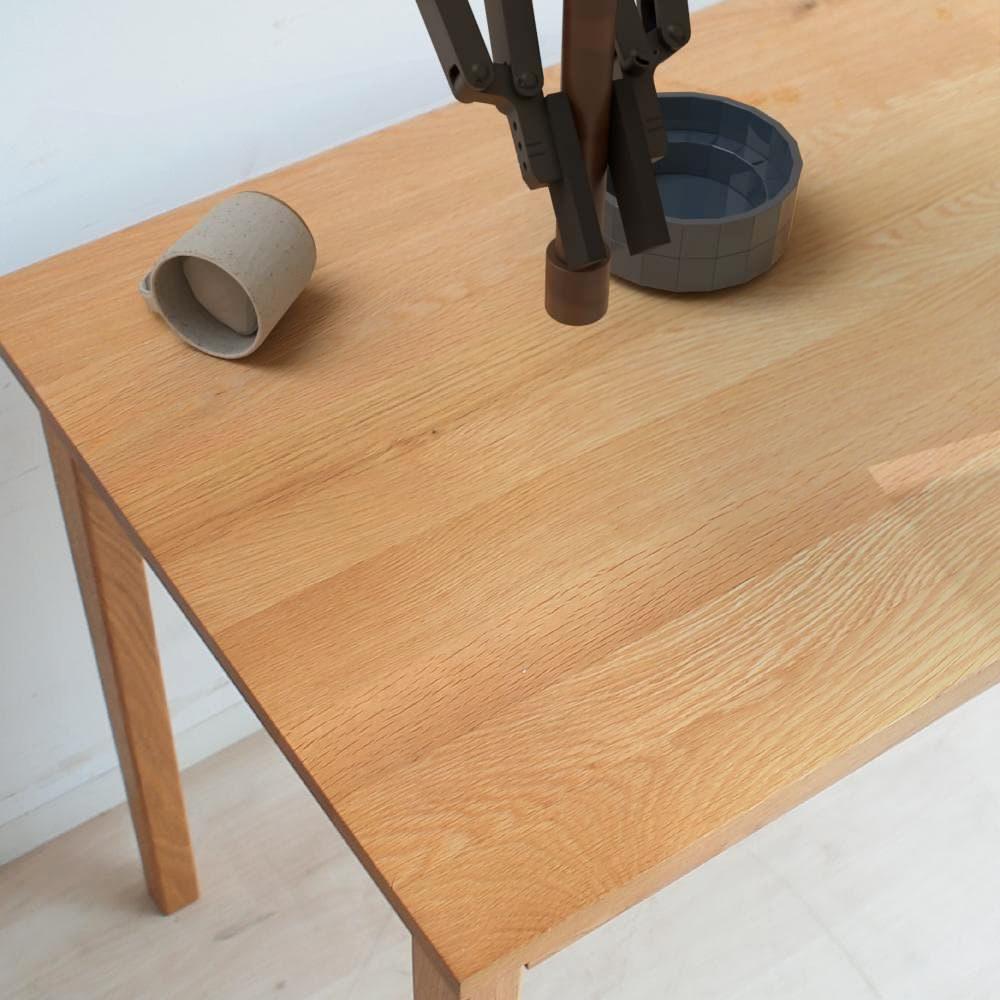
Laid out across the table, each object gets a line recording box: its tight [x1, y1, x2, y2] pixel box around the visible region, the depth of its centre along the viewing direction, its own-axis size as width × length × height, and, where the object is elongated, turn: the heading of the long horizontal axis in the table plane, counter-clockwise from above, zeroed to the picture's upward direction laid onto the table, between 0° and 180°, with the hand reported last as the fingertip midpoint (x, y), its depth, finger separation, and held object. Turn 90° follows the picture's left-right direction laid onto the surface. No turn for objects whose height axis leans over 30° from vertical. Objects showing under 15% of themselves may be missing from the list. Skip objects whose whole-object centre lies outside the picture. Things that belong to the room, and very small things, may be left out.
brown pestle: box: [544, 0, 618, 327], centre depth 58 cm, size 3×3×16 cm
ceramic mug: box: [138, 190, 318, 360], centre depth 87 cm, size 11×8×8 cm
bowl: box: [603, 91, 804, 293], centre depth 93 cm, size 14×14×6 cm
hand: (619, 255), depth 57 cm, fingers closed on brown pestle, 2 cm apart
